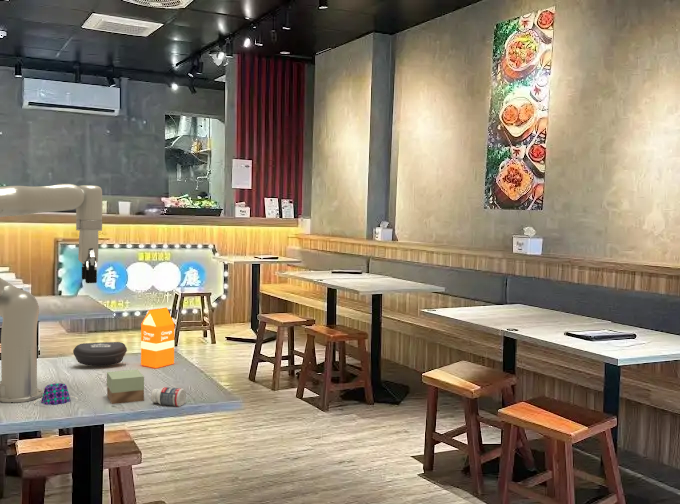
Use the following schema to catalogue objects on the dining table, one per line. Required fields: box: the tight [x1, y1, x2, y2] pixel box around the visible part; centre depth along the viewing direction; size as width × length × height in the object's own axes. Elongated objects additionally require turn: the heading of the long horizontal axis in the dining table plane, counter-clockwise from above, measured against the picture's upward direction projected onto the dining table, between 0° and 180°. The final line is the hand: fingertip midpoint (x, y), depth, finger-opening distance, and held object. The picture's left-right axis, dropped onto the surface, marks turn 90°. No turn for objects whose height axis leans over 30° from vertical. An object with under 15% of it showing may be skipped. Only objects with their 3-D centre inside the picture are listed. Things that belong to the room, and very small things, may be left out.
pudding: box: [33, 382, 79, 408], centre depth 206 cm, size 12×12×5 cm
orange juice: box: [140, 307, 175, 369], centre depth 254 cm, size 8×9×20 cm
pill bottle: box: [150, 386, 187, 407], centre depth 206 cm, size 5×5×9 cm
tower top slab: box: [106, 369, 145, 393], centre depth 210 cm, size 9×9×4 cm
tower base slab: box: [106, 385, 145, 405], centre depth 210 cm, size 9×9×4 cm
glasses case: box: [72, 341, 128, 367], centre depth 253 cm, size 18×10×8 cm, turn 111°
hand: (89, 281), depth 221 cm, fingers open, 9 cm apart
